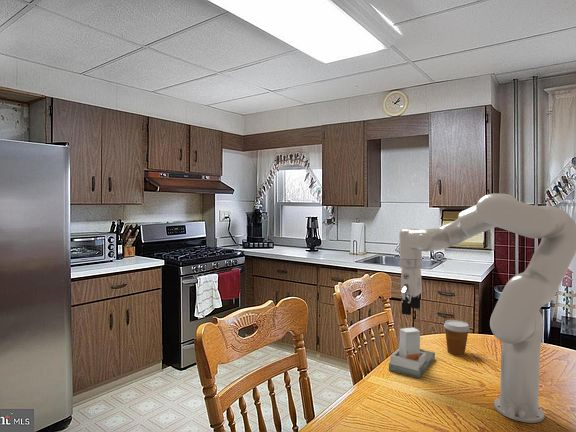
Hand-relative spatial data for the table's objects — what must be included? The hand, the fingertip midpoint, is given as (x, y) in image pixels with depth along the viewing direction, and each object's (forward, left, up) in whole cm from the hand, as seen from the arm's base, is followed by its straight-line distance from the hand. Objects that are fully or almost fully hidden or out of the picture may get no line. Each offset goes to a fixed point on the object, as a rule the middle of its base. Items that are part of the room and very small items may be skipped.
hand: (410, 311), depth 140 cm
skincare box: (0, 0, -19) cm, 19 cm away
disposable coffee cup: (+26, -10, -22) cm, 35 cm away
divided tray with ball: (+5, +1, -21) cm, 22 cm away
